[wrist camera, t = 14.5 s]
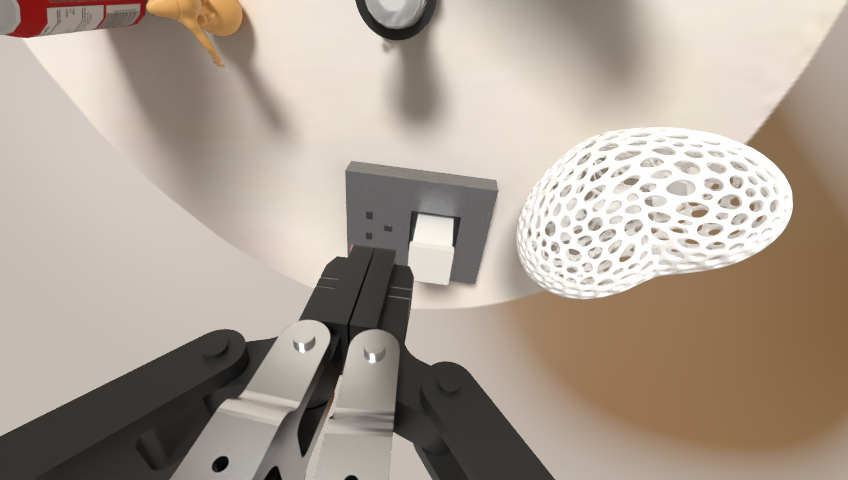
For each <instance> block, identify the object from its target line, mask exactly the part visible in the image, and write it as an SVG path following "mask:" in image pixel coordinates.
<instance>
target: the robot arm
mask: <svg viewBox="0 0 848 480" xmlns="http://www.w3.org/2000/svg"><path fill="white" fill-rule="evenodd" d="M397 254H398V251H397V250H395V249H388V248H380V247H372V246H365V245H358V244H354V245H353V247H352V250H351V252H350V254H349V257H348V258H345V257H338V256H337V257H336V258H335V259H333V260H332V261H331V262H330V263H328V264H327V265H326V267H325V269H324V271H323V273H322V275H321V278H320V279H319V281H318V283H317V286H316V287H315V289H314V291H313V293H312V295H311V297H310V299H309V301H308V303H307V305H306V307H305V309H304V311H303V313H302V315H301V317H300V319H299V321H298V322H295V323H293V324H291V325H289V326H288V327H286V328H285V329H284V330H283V331H282V332H281V334H280V335H279V336H278V337H275V338H271V339H265V340H257V341H249V342H245V339H244V337H243V336H242V335H241V334H240V333H238V332H237V331H234V330H229V329H224V330H223V329H222V330H216V331H213V332H210V333H207V334H205V335H203V336H201V337H199V338H197V339H195V340H193V341H191V342H189V343H187V344H185V345H183V346H181V347H179V348H177V349H175V350H173V351H171V352H169V353H167V354H165V355H163V356H161V357H159V358H157V359H155V360H153V361H151V362H149V363H147V364H145V365H143V366H141V367H139V368H137V369H135V370H133V371H131V372H129V373H127V374H125V375H123V376H121V377H119V378H117V379H115V380H113V381H111V382H109V383H107V384H105V385H103V386H101V387H99V388H96V389H95V390H92V391H90V392H88V393H87V394H85V395H83V396H80V397H78V398H77V399H74V400H72V401H70V402H68V403H66V404H64V405H62V406H61V407H58V408H56V409H55V410H52V411H50V412H48V413H46V414H44V415H42V416H40V417H38V418H36V419H34V420H32V421H30V422H28V423H26V424H24V425H22V426H20V427H18V428H16V429H14V430H12V431H10V432H8V433H6V434H4V435H2V436H0V480H305V476H306V469H307V465H308V462H309V459H310V457H311V454H312V452H313V449H314V447H315V444H316V442H317V439H318V437H319V435H320V432H321V430H322V427H323V425H324V422H325V420H326V417H327V414H328V412H329V410H330V407H331V405H332V402H333V399H334V394H335V393H334V390H335V387H336V384H337V382H338V378H339V375H342V380H341V384H340V389H339V394H338V398H337V402H336V406H335V411H334V413H333V416H332V417H330V418H329V420H328V423H327V426H326V430H325V434H324V438H323V442H322V446H321V451H320V454H319V459H318V463H317V467H316V472H315V475H314V480H389V471H390V458H391V447H392V436H393V432H395V433H396V434H398V435H400V436H402V437H403V438H405V439H407V440H409V441H411V442H413V444H414V447H415V449H416V452H417V453H418V455H419V457H420V459H421V460H422V462H423V464H424V466H425V467H426V469H427V471H428V472H429V474H430V476H431V478H432V479H433V480H555V479H554V478H553V477H552V475H551V474H550V473H549V471H548V470H547V469H546V468H545V467H544V465H543V464H542V463H541V461H540V460H539V459H538V458H537V457H536V455H535V454H534V453H533V451H532V450H531V449H530V448H529V446H528V445H527V444H526V443H525V442H524V440H523V439H522V438H521V436H520V435H519V434H518V433H517V432H516V430H515V429H514V428H513V427H512V425H511V424H510V423H509V422H508V420H507V419H506V418H505V417H504V415H503V414H502V413H501V412H500V411H499V409H498V408H497V407H496V405H495V404H494V403H493V402H492V400H491V399H490V398H489V397H488V395H487V394H486V393H485V392H484V390H483V389H482V388H481V387H480V385H479V384H478V383H477V382H476V380H475V379H474V378H473V377H472V376H471V374H470V373H469V372H468V371H467V370H466V369H465V368H464V367H462V366H460V365H458V364H456V363H453V362H439V363H436V364H433V365H432V366H430V365H428V364H426V363H424V362H422V361H420V360H418V359H416V358H415V357H414V356H412V355H411V354H410V353H409V351H408V350H407V348H406V346H405V338H406V332H407V326H408V320H409V315H410V309H411V300H412V291H413V282H414V276H413V273H412V271H411V268H410V266H404V265H397Z"/></svg>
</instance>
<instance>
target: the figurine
mask: <svg viewBox="0 0 848 480" xmlns="http://www.w3.org/2000/svg"><path fill="white" fill-rule="evenodd" d="M146 9H147V11H148V12H149V13H150V14H152V15H155V16H159V17H167V18H172V19H174V20H176V21H177V22H178V23H180V24H183V25H184V26H185V27H186V28H188V29H189V30H190V31H191V32H192V33H193V34H194V35H195V37H196V38H197V40H198V41H199V42H200V43H201V44H202V45H203V47H204V48H205V49H206V50H207V51H208V53H209V54H210V55H211V57H212V59H213V61H214V63H215V64H216V65H218V66H220V67H225V66H224V65H223V64H222V63H221V62H220V58H219V56H218V54H217V52H216V51H215V50H214V48H213V46H212V44H211V43H210V41H209V40H208V38H207V37H206V35H205V34H204V33H203V31H202V30H201V29H200V28H203V29H204V30H206V31H207V32H209V33H211V34H214V35H217V36H228V35H231V34H233V33H235V32H236V31H237V30H238V29H239V27H240V26H241V23H242V17H243V14H242V8H241V5H240V3H239V1H238V0H149V1H148V2H147V5H146Z"/></svg>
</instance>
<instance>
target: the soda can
mask: <svg viewBox="0 0 848 480" xmlns="http://www.w3.org/2000/svg"><path fill="white" fill-rule="evenodd" d="M145 4H146V0H0V35H8V36H14V37H22V38H30V37H38V36H47V35H55V34H63V33H72V32H80V31H89V30H97V29H106V28H114V27H123V26H130V25H134V24H137V23H138V22H139V21H140V19H141V18H142V17H143V16H144V15H145Z"/></svg>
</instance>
